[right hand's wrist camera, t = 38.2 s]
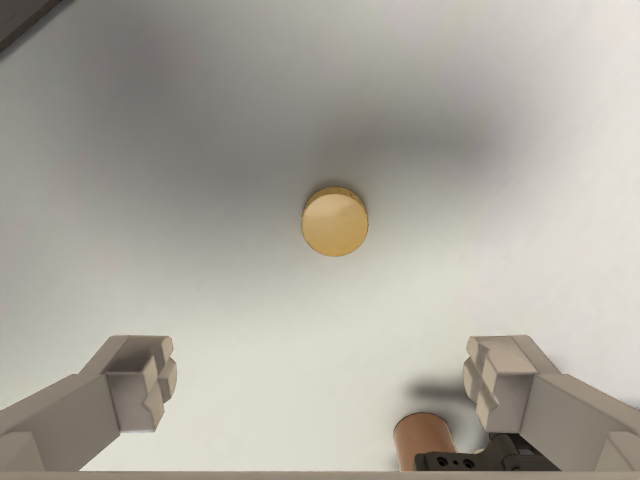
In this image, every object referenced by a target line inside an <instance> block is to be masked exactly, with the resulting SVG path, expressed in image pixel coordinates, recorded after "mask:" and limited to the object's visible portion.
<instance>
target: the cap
mask: <svg viewBox="0 0 640 480" xmlns="http://www.w3.org/2000/svg"><path fill="white" fill-rule="evenodd" d="M366 214H367V211H366V208H364V205H363V203H362V202H361V199H360V197H359V198H358V196H357V195H355V194H354V193H353V192H351V190H350V191H349V190H347V189H344V188H340V186H339V187H329V188H328V187H326V188H325V189H322V190H320V191H318V192H315V194H314V195H313V196H312V197H311V198H310V199H309V200H307V204H306V206H305V209H304V210H303V213H302V227H301V229H302V233H303V236H304V238H305V240H306V242H307V243H308V244H309V246H310V247H311V248H313V249H314V250H315V251H317V252H318V253H321V254H323V255H326V256H335V257H336V256H343V255H346V254H349V253H351V252H353V251H354V250H356V249H357V248H358V247H359V246H360V245H361V244H362V242H363V241H364V239H365V237H366V234H367V231H368V219H367V215H366Z"/></svg>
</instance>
